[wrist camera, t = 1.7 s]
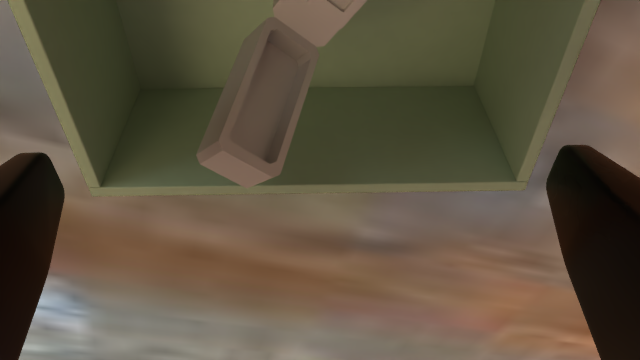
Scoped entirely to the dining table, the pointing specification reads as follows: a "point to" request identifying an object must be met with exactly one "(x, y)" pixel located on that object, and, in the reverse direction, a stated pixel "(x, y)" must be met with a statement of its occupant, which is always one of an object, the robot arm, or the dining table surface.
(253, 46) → the lighter
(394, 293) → the dining table surface
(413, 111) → the carton
